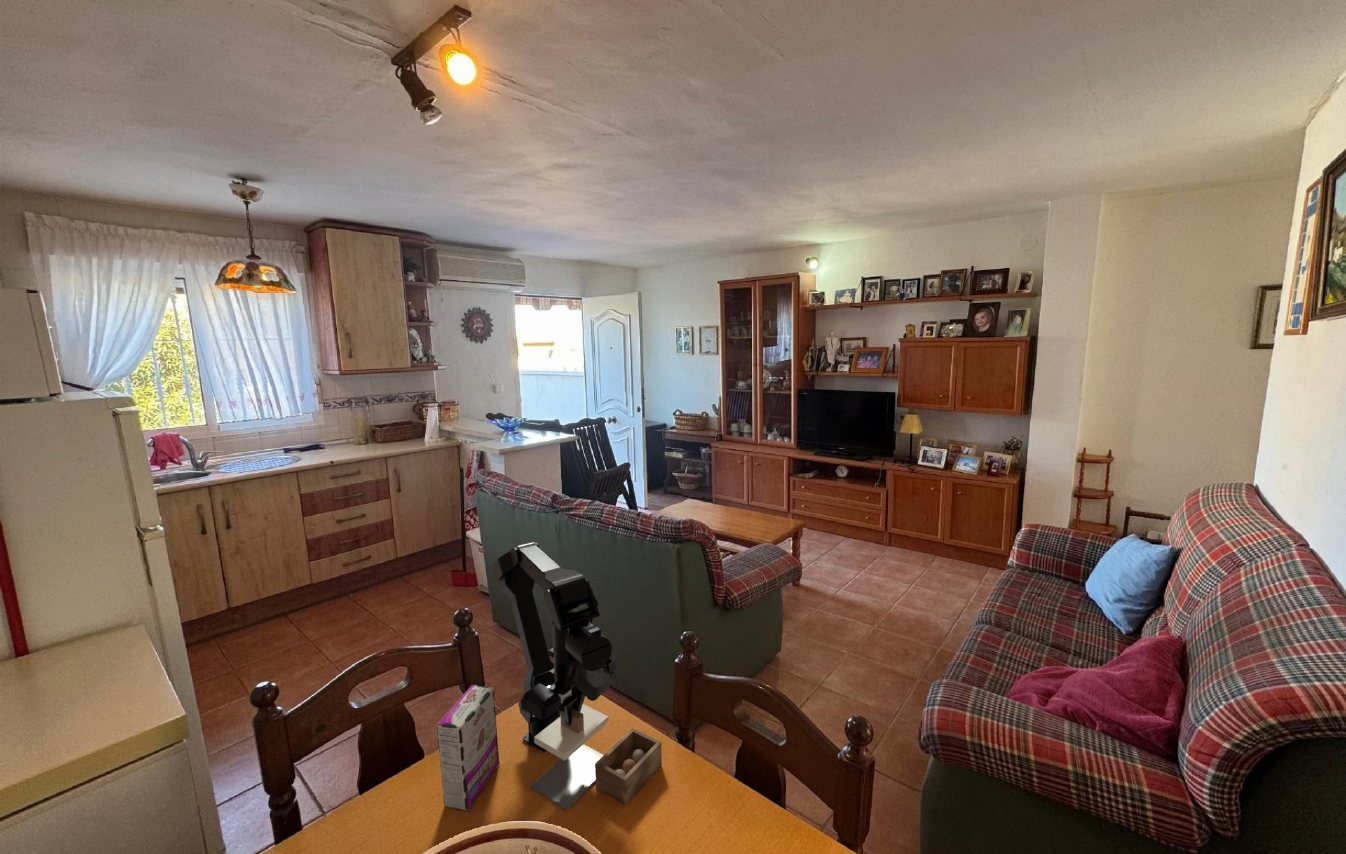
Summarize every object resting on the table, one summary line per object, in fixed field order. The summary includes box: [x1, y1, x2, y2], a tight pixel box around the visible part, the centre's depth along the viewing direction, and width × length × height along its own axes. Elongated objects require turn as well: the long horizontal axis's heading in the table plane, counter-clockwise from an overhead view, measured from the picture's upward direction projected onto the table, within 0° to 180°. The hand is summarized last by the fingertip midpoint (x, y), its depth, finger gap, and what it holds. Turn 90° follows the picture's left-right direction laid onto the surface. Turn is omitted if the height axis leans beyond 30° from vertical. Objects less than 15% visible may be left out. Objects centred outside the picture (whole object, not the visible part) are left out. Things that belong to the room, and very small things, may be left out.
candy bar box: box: [436, 684, 500, 812], centre depth 98 cm, size 11×5×16 cm, turn 168°
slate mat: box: [530, 743, 605, 812], centre depth 101 cm, size 9×13×1 cm
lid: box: [534, 703, 609, 761], centre depth 100 cm, size 12×8×5 cm, turn 146°
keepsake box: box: [595, 727, 663, 806], centre depth 101 cm, size 11×7×5 cm, turn 146°
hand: (571, 722), depth 100 cm, fingers closed on lid
